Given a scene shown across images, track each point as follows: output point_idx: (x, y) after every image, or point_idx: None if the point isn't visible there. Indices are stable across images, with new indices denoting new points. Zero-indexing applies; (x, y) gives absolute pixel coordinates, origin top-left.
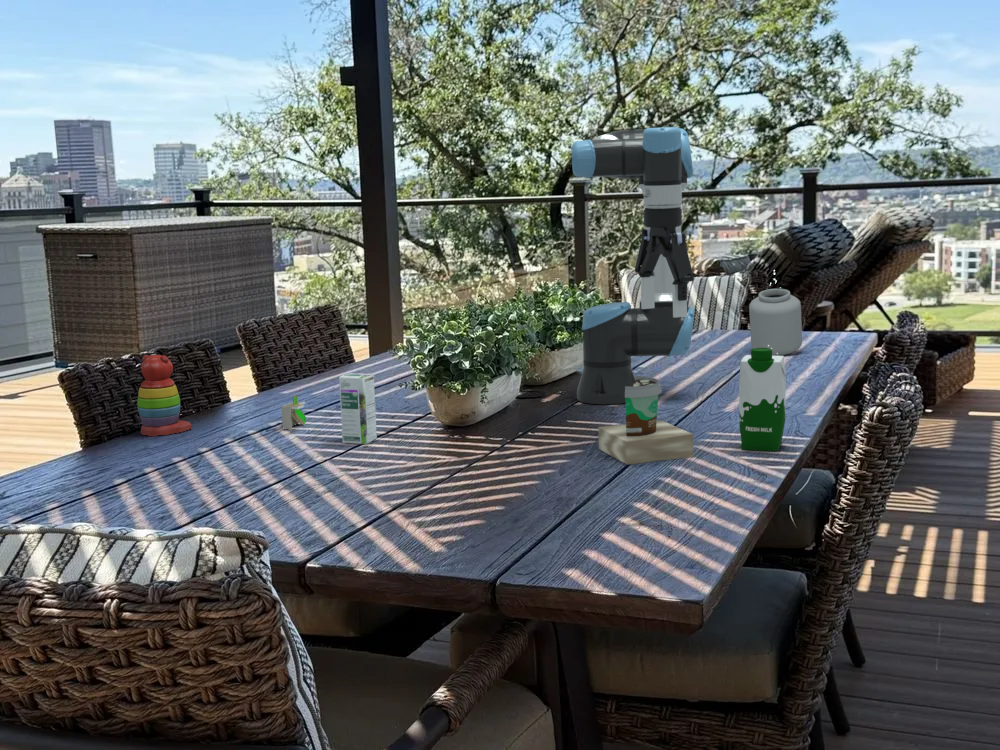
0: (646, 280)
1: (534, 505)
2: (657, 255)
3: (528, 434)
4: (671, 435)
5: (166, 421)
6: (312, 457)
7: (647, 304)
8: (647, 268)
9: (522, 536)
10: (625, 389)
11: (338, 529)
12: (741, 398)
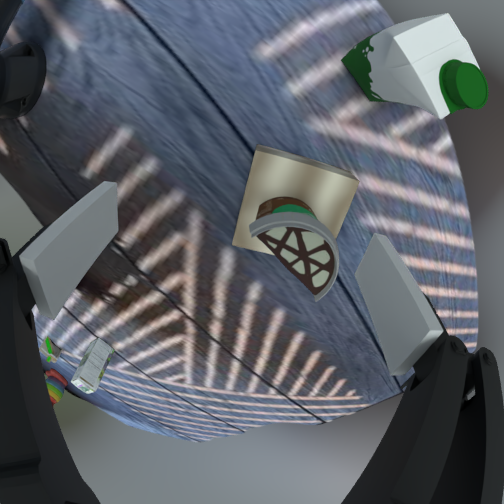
0: (55, 291)
1: (347, 355)
2: (48, 450)
3: (126, 248)
4: (342, 207)
5: (62, 385)
6: (138, 377)
7: (110, 221)
8: (32, 348)
9: (380, 374)
10: (315, 298)
11: (296, 412)
12: (397, 101)
